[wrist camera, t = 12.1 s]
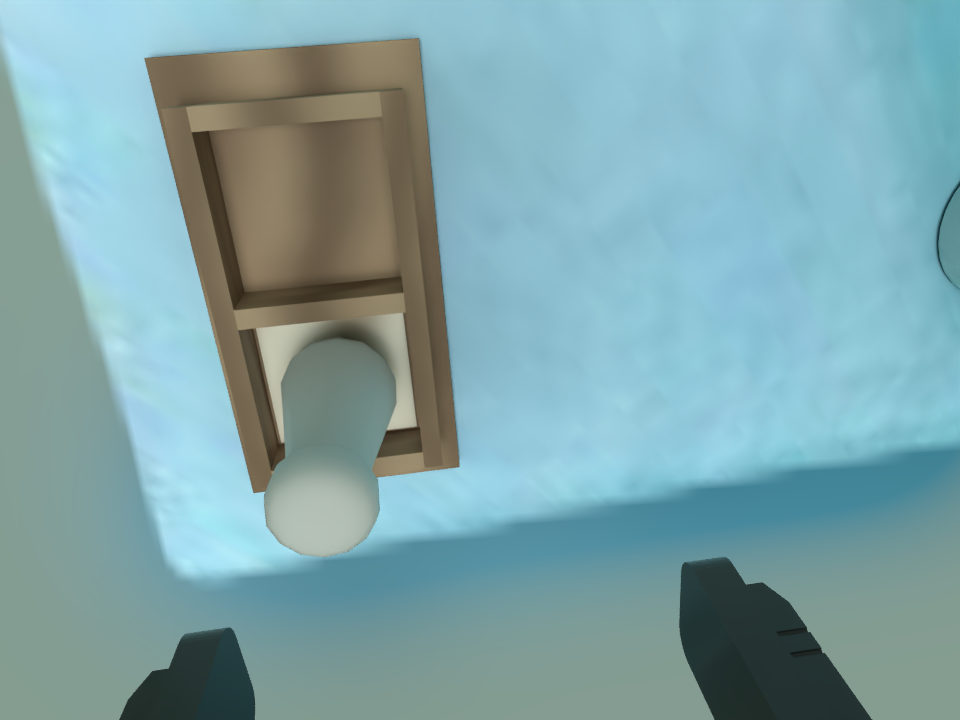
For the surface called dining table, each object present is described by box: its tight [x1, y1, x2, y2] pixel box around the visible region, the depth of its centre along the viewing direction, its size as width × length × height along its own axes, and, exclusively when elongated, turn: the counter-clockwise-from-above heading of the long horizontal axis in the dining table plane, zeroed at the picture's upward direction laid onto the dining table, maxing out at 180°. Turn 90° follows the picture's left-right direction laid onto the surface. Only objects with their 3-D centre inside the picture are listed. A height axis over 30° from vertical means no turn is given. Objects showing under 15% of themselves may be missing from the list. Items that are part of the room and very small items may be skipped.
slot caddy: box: [145, 38, 459, 493], centre depth 34 cm, size 12×23×4 cm, turn 4°
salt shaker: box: [264, 337, 397, 557], centre depth 30 cm, size 6×6×13 cm
